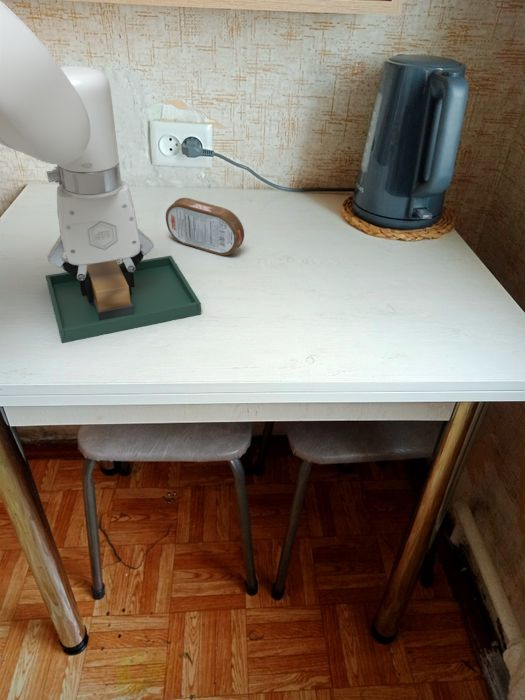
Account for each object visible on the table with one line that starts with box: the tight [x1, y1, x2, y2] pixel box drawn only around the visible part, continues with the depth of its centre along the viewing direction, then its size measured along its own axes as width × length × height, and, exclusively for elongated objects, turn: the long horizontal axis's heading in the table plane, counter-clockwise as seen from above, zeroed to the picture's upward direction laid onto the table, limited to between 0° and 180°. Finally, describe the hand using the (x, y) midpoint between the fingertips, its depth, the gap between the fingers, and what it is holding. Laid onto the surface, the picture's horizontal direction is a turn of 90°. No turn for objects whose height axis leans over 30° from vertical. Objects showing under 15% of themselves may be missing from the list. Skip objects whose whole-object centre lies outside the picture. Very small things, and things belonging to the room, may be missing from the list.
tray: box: [45, 255, 202, 344], centre depth 78 cm, size 20×15×2 cm
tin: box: [165, 197, 245, 256], centre depth 91 cm, size 15×3×8 cm, turn 65°
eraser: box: [87, 260, 134, 320], centre depth 76 cm, size 5×10×5 cm, turn 25°
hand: (108, 293), depth 77 cm, fingers closed on eraser, 5 cm apart
